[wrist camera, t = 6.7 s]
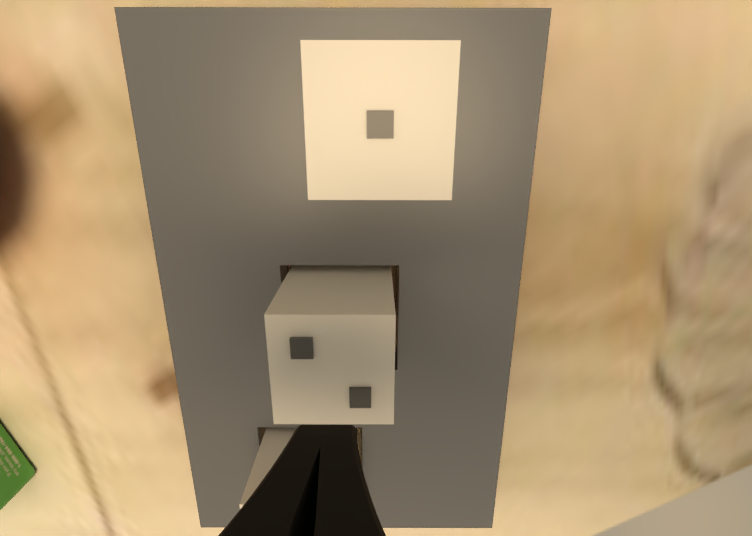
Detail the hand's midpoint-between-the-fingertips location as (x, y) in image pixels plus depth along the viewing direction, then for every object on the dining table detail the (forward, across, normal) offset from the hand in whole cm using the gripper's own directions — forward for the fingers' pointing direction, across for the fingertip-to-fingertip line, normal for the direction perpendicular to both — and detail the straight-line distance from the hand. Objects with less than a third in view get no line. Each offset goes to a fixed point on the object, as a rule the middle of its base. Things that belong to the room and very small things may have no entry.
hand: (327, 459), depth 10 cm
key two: (+9, 0, 0) cm, 9 cm away
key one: (+9, -1, -7) cm, 12 cm away
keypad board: (+9, 0, 0) cm, 9 cm away
